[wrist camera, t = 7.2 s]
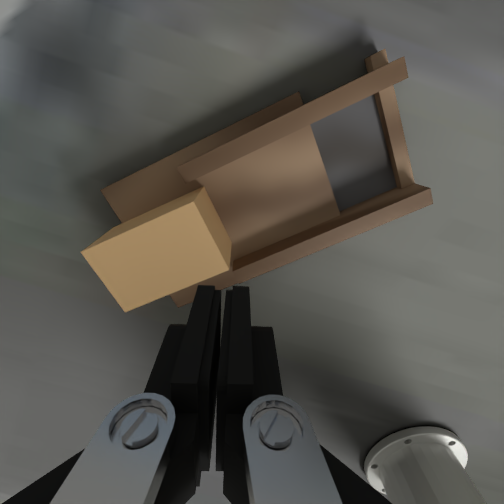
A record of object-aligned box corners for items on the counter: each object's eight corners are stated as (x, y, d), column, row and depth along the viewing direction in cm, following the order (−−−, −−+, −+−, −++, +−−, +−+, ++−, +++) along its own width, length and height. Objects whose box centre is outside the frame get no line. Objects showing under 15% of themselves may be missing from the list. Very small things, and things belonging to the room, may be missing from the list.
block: (231, 242, 24) (229, 270, 19) (146, 278, 25) (125, 312, 20) (203, 186, 22) (193, 201, 17) (113, 227, 23) (80, 252, 18)
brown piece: (413, 204, 24) (435, 214, 21) (180, 301, 27) (173, 321, 24) (378, 52, 20) (401, 39, 17) (105, 187, 23) (86, 195, 20)
